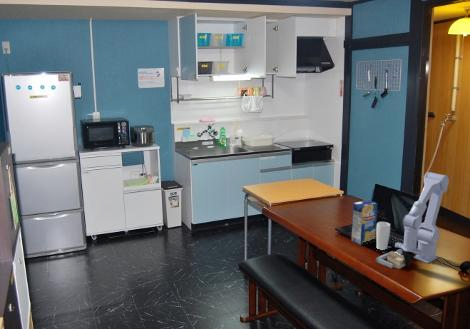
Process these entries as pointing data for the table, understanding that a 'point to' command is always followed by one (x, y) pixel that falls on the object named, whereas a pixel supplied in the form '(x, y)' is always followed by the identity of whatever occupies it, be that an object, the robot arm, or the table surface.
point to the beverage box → (364, 221)
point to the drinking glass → (382, 235)
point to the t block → (396, 259)
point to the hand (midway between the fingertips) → (407, 265)
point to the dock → (382, 261)
